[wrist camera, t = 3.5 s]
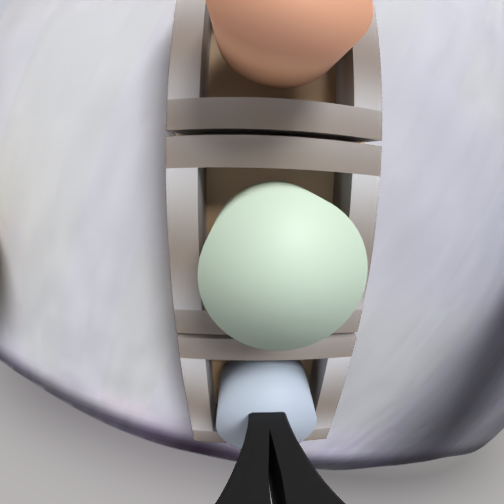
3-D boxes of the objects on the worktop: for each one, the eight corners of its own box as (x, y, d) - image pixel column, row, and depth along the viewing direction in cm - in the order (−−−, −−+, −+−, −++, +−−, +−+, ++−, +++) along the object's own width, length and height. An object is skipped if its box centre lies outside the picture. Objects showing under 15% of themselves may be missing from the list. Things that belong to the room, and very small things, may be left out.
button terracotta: (335, -3, 7) (363, -46, 4) (340, 94, 8) (379, 70, 5) (219, -11, 7) (211, -61, 4) (213, 86, 8) (198, 54, 5)
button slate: (310, 345, 12) (324, 391, 9) (299, 404, 14) (308, 449, 11) (218, 345, 12) (212, 393, 9) (222, 405, 13) (218, 451, 11)
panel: (191, -10, 9) (179, -45, 6) (350, 0, 9) (372, -31, 6) (198, 407, 15) (192, 446, 13) (318, 406, 16) (327, 443, 13)
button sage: (338, 184, 9) (377, 197, 6) (326, 298, 10) (352, 347, 7) (211, 179, 9) (194, 190, 6) (213, 297, 10) (202, 349, 7)
